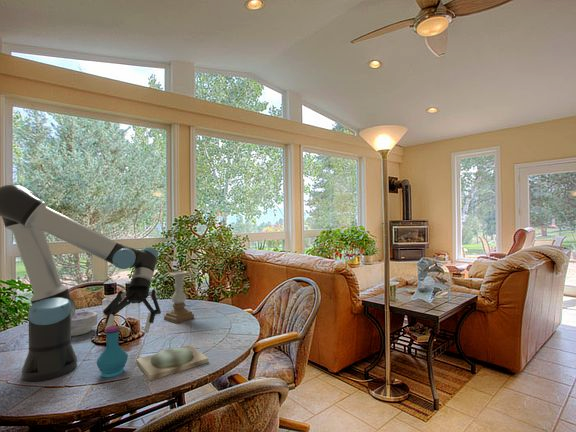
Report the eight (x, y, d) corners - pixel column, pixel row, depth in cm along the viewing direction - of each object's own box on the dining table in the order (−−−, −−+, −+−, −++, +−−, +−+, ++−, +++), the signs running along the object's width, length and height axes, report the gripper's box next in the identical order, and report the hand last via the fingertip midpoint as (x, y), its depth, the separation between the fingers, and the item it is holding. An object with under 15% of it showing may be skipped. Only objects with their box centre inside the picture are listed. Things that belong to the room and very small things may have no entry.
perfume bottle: (98, 369, 110) (98, 325, 110) (128, 364, 114) (128, 321, 114) (94, 381, 102) (94, 334, 102) (127, 375, 106) (127, 329, 106)
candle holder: (175, 323, 158) (175, 275, 158) (163, 319, 165) (163, 272, 165) (194, 317, 167) (194, 272, 167) (182, 314, 174) (181, 270, 174)
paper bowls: (89, 324, 157) (89, 308, 157) (102, 331, 147) (102, 314, 147) (52, 333, 145) (52, 316, 145) (63, 341, 136) (63, 322, 136)
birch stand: (150, 380, 102) (150, 372, 102) (136, 363, 115) (136, 356, 115) (208, 362, 115) (208, 355, 115) (190, 348, 127) (190, 342, 127)
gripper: (174, 285, 134) (164, 335, 119) (112, 287, 132) (94, 337, 117) (171, 275, 129) (160, 325, 114) (105, 277, 126) (86, 328, 112)
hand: (126, 332), depth 115 cm, fingers open, 13 cm apart
